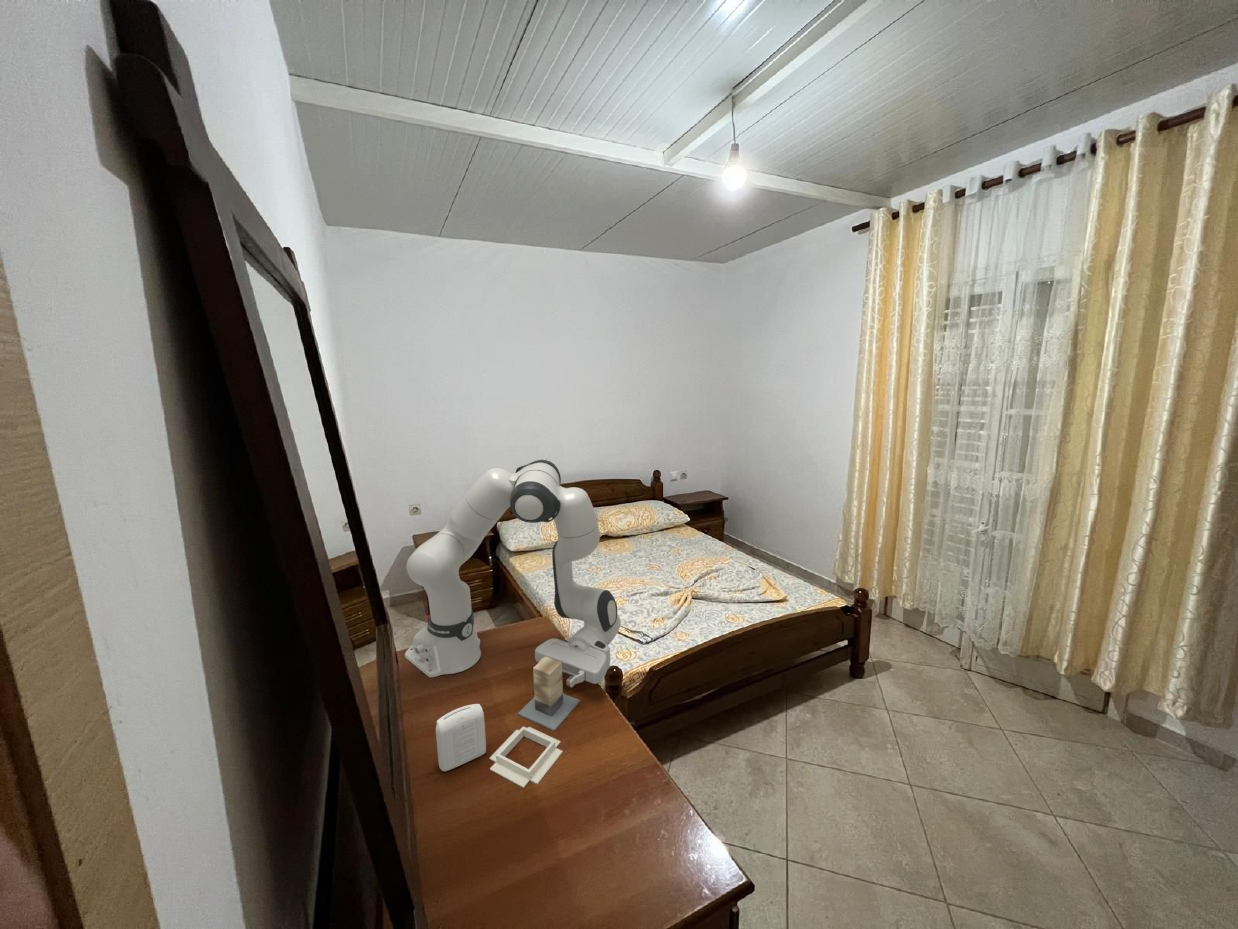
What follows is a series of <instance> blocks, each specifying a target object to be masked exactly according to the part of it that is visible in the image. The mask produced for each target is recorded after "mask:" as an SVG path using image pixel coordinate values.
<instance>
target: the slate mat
mask: <svg viewBox="0 0 1238 929" xmlns="http://www.w3.org/2000/svg"><path fill="white" fill-rule="evenodd" d="M580 702H581V701H580V699H577V698H575V697H573V696H570V695H568V694H565V693H563V704H562V705H561V707H560V708H559V709H558V710H557V711H556V712H555V713H554V714H553V715H552V717H551V716H549V715H546V714H544V713H542V712H540V711H537V710H535V697H534V696H533V697H532V699H531V700H529V701H528V703H526V705H525V706H524V707H523V708H522V709H520V711H519V712H518V713H517V715H518V716H519V717H521V718H523V719H526V720H528V721H530V722H533V723H535V724H537V725H539V726H541V727H544V728H545V729H547V730H550V731H552V732H556V730H557V729H558V728H559V727H560V726H561V725H562V723H563V722H564V721H565V720H566V719H567V717H568V716H569V715H570V714H571V713H572V711H574V709H575V708H576V707H577V706H578V704H580Z"/></svg>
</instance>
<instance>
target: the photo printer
mask: <svg viewBox="0 0 1238 929" xmlns="http://www.w3.org/2000/svg"><path fill="white" fill-rule="evenodd" d="M484 713H485V712H484V709H483V707H482V706H481V704H480V703H474V704H473V703H472V704H468V705H464V706H461V707H459V708H456V709H453V710H452V711H449V712H447V713H446V714H444V715H443V716H441V717H439V718H438V719H437V720H436V721H435V722H436V725H435V738H436V747H437V748H436V749H437V758H438V766H439V770H441V771H442V772H448V771H450V770H453V769H455V768H457V767H459V766H461V765H465V764H466V763H469V762H470V761H473V760H476V759H477V758H479V757H481V756H483V755H485V754H486V753H487V740H486V738H487V737H486V724H485V714H484Z"/></svg>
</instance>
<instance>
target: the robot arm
mask: <svg viewBox="0 0 1238 929" xmlns="http://www.w3.org/2000/svg"><path fill="white" fill-rule="evenodd" d="M561 482H562V478H561V473H560V470H559V469H558V467H557V465H556V464H554V463H553V462H552V461H550V460H547V459H538V460H534V461H531V462H529V463H527V464H524V465H521V466H518V467H517V468H516V469H515V472H514V473H513V472H510V471H509V470H508V469H505V468H502V467H492V468H490V469H488V470H487V471H485V472H484V473H483V474H482V475H481V476H479V477H478V478H477V480H475V482H473V484H472V485H471V486H470V487H469V488H468V489H467V491H466V492H465V493H464V494H463V495H462V497H461V498H460V500H458V502H457V504H456V505H455V506H454V507H453V509H452V510H451V511H450V513H449V520H448V521H447V523H446V524H445V525H444V527H443V528H441V530H440V531H439V532H438V533H435V535H433V536H432V537H430V538H429V539H428V540H426V541H425V542H423V543H421V544H420V545H419V546H418V547H417V548H416V549H415V550H414V551H413V552H412V553H411V555H410V556H409V557H408V559H407V562H406V572H407V575H408V576H409V578H410V579H411V580H412V582H414V583H415V584H417V585H419V586H421V587H423V588H424V591H425V592H426V595H427V598H428V606H429V615H427V616H424V617H423V618H424V619H425V620H424V622H427V621H428V622H427V625H425V626H423V628H421V629H420V630H419V631H417V633H416V634H415V635H414V636H413V638H412V645H411V646H410V647H408V649H407V650H406V651H405V653H404V658H405V659H406V660H407V661H408V662H410V663H411V664H412V665H414V667H416V668H417V669H419V671H421V672H422V673H424V675H426V676H427V677H428V678H435V677H439V676H441V675H442V676H444V675H453V674H457V673H458V674H459V673H460V672H464V671H466V670H468V669H470V668H471V667H473V666H475V665H476V664H477V663H478V661H479V660H480V658H481V656H482V651H481V647H480V645H481V639H480V638H479V637H478V633H477V628H476V623H475V614H474V610H473V609H472V600H471V588H470V586H469V585H468V584H467V583H466V582H465V581H464V580H461V578H460V574H459V572H460V568H461V566H462V565H464V564H465V562H466V561H468V560H469V559H470V558H471V557H472V556H473V555H474V553H475V552H476V551H477V550H478V548H479V546H480V545H481V544H482V542H483V540H484V538H485V537H486V536H487V534H488V533H489V532H490V531H491V529H493V527H494V526H495V525H496V524H497V522H499V520H500V519H501V518H502V516H503V515H504V514H505V512H506V511H507V510H508V509H509V508H510V510H511V512H512V514H513V515H514V517H515V518H517V519H518V520H520V521H521V522H524V523H530V524H532V523H533V524H536V523H537V524H538V523H540V522H541V523H550V522H552V521H554V525H555V528H556V533H557V540H556V541H555V542H554V545H553V547H552V552H551V553H552V554H551V555H552V556H551V557H552V559H551V560H552V569H553V571H552V573H553V582H554V583H553V584H554V596H553V597H554V600H553V604H554V608H555V611H556V613H557V614H558V615H559V616H560V617H561V618H563V619H569V620H570V619H571V620H578V621H583V622H584V624H583V626H582V627H581V628H579V629H578V630H577V631H576V632H575V633H573V635H571V636H570V638H569V639H568V640H567V641H566V640H562V639H559V638H550V639H547V640H546V641H544V642H542V643H541V644H539V645H538V646H537V647H536V648H535V650H534V658H535V661H536V662H537V664H538V663H539V662H540V661H541V660H542V659H543V658H544V657H545V656H546V657H548V658H551V659H554V660H556V661H559V662H562V673H565V674H567V675H570V676H569V677H568V678H567V679H566V681H565V682H566V686H567V687H569V688H573V687H574V686H575V685H577V684H580V683H583V682H584V681H586V682H588V683H590V684H593V685H594V684H595V685H597V684H600V682H601V681H602V680H603V679H604V677H605V676H606V675H607V671H608V670H609V669H610V666H611V650H610V646H609V645H610V643H611V642H612V641H613V640H614V639H615V637H616V636H617V634H618V633H619V631H620V628H621V624H622V623H621V617H620V615H619V614H618V606H617V601H616V599H615V597H614V595H613V594H612V592H611V591H610V590H608V589H607V590H606V589H604V588H603V589H602V588H599V587H592V586H591V587H590V586H586V585H581V584H578V583H577V582H576V581H574V577H573V575H574V574H573V564H572V562H576V561H579V560H582V559H585V558H587V557H588V556H589V555H591V554H592V553H593V552H595V550H596V549H597V548H598V546H599V543H600V538H601V537H600V528H599V523H598V520H597V515H596V512H595V509H594V505H593V503H592V501H591V499H590V496H589V495H588V493H587V492H586V490H584V489H583V488H580V487H575V486H573V487H563V486H562V485H561ZM411 649H412V650H411Z"/></svg>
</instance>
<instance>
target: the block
mask: <svg viewBox="0 0 1238 929" xmlns="http://www.w3.org/2000/svg"><path fill="white" fill-rule="evenodd" d="M532 669H533V670H532V672H533V692H534V693H533V694H534V696H533V698H534V697H535V710H537V711H540V712H542V713H544V714H546V715H549V716H551V717H552V715H553V714H554V713H555V712H556V711H557V710H558V709H559V708H560V707H561V705H562V704H563V694H564V689H563V687H564V686H563V672H562V662H559V661H556V660H554V659H551V658H548V657H546V656H545V657H544V658H543V659H542V660H541V661H540V662H539V663H538V662H537V664H536V665H535V666H533V668H532Z"/></svg>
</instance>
